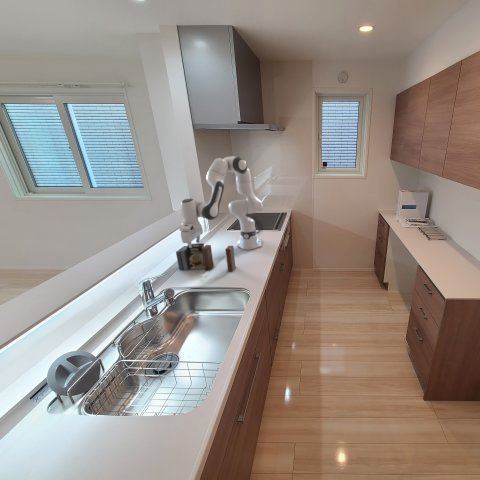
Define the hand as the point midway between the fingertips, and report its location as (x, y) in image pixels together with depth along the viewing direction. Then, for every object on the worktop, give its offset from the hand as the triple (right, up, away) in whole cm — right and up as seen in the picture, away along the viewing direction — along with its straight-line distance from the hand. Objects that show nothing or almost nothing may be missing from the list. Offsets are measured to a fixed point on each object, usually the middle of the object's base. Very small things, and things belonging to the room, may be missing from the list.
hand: (194, 244), depth 162 cm
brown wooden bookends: (+16, -16, +4) cm, 23 cm away
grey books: (-8, -15, +6) cm, 18 cm away
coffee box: (0, -15, +6) cm, 17 cm away
